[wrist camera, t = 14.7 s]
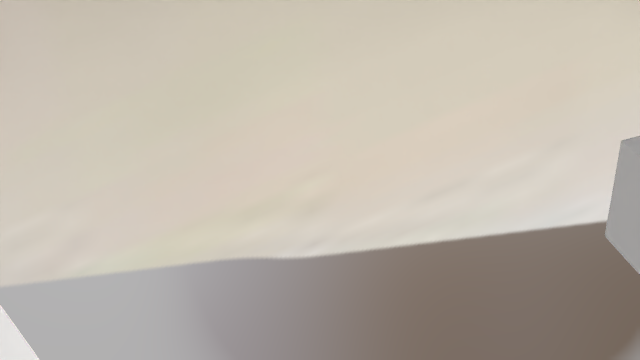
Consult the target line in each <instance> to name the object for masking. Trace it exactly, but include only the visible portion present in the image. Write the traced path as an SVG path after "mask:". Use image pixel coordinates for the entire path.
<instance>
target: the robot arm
mask: <svg viewBox="0 0 640 360" xmlns="http://www.w3.org/2000/svg"><path fill="white" fill-rule="evenodd" d="M605 237H606V238H607V239H608V240H609V241H610V242H611V243H612V244H613V245H614V247H615V248H616V249H617V250H618V251H619V252H620V253H621V254H622V256H623V257H624V258H625V259H626V260H627V261H628V262H629V263H630V264H631V266H632V267H633V268H634V269H635V270H636V271H637V272H638V273H639V274H640V136H638V137H634V138H630V139H626V140H622V141H621V145H620V151H619V157H618V163H617V168H616V174H615V180H614V186H613V191H612V197H611V203H610V209H609V214H608V220H607V227H606V232H605ZM0 360H39V358H38V357H37V356H36V354H35V353H34V351H33V350H32V349H31V347H30V346H29V344H28V343H27V342H26V340H25V339H24V338H23V336H22V335H21V334H20V332H19V330H18V329H17V328H16V326H15V325H14V323H13V322H12V321H11V319H10V318H9V316H8V315H7V314H6V312H5V311H4V309H3V308H2V307H1V305H0Z"/></svg>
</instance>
